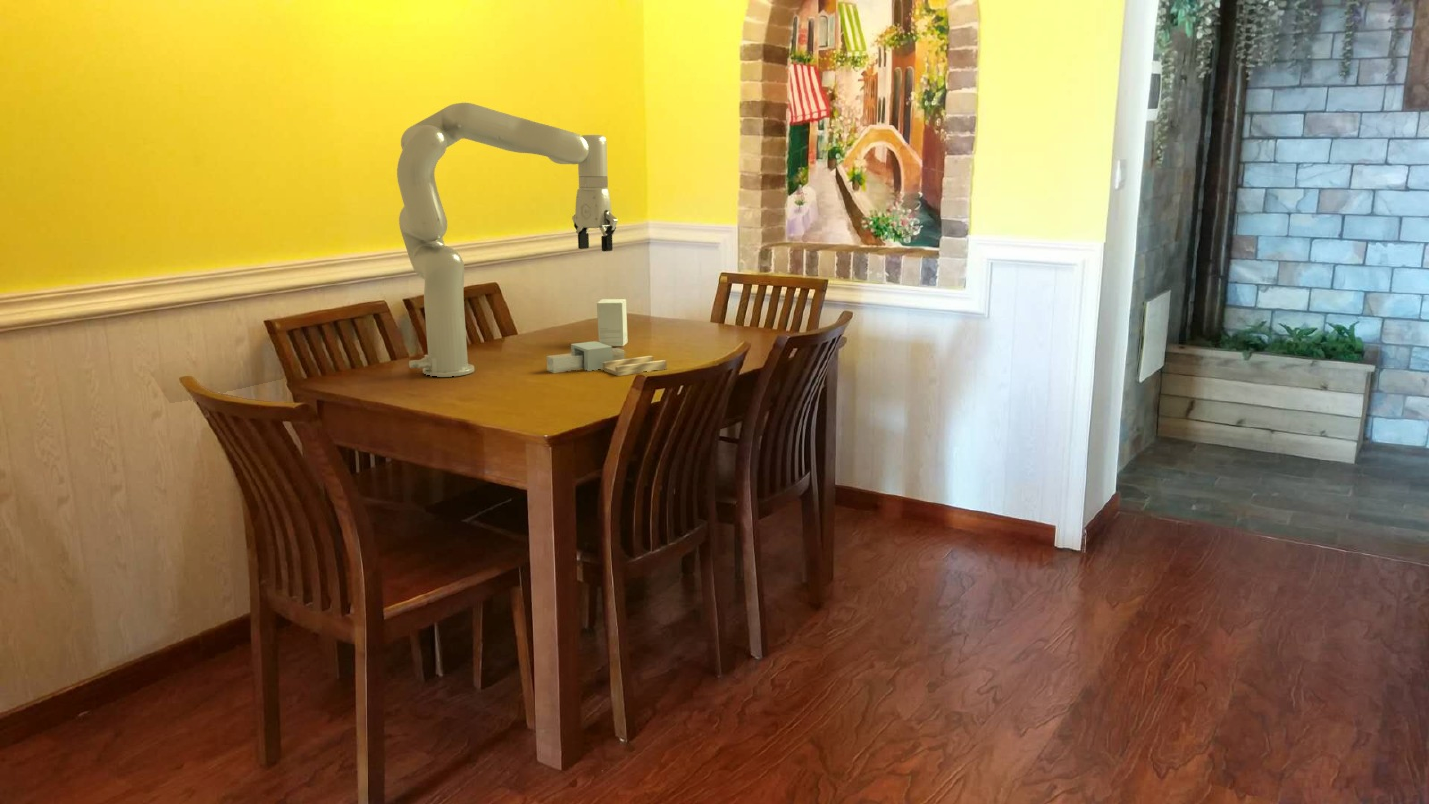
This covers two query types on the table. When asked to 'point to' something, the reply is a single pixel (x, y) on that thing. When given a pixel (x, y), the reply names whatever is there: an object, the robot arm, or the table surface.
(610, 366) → the cradle
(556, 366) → the bar
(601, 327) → the supplement box
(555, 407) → the table surface
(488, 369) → the table surface
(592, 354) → the grey arch block
